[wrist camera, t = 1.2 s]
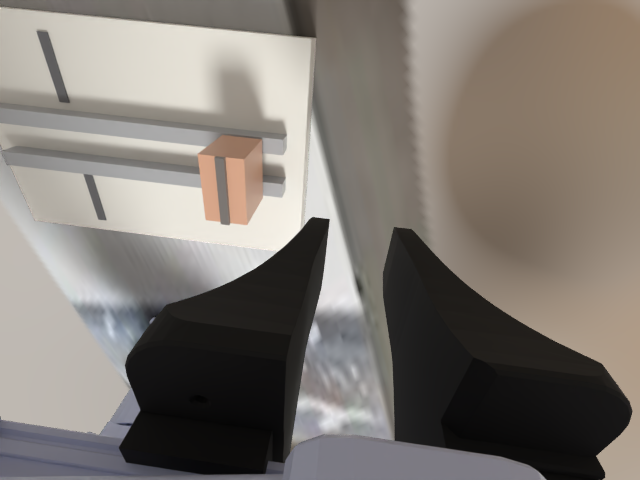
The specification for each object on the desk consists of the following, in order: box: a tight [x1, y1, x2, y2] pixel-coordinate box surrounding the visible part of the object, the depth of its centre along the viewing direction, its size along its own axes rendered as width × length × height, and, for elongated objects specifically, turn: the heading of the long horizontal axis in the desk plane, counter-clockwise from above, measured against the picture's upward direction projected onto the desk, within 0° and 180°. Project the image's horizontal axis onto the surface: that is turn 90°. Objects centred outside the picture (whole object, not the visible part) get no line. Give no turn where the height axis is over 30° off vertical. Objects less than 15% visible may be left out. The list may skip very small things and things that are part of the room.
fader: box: [198, 135, 263, 225], centre depth 16 cm, size 3×2×4 cm, turn 176°
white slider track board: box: [0, 6, 316, 251], centre depth 19 cm, size 12×18×3 cm, turn 86°
